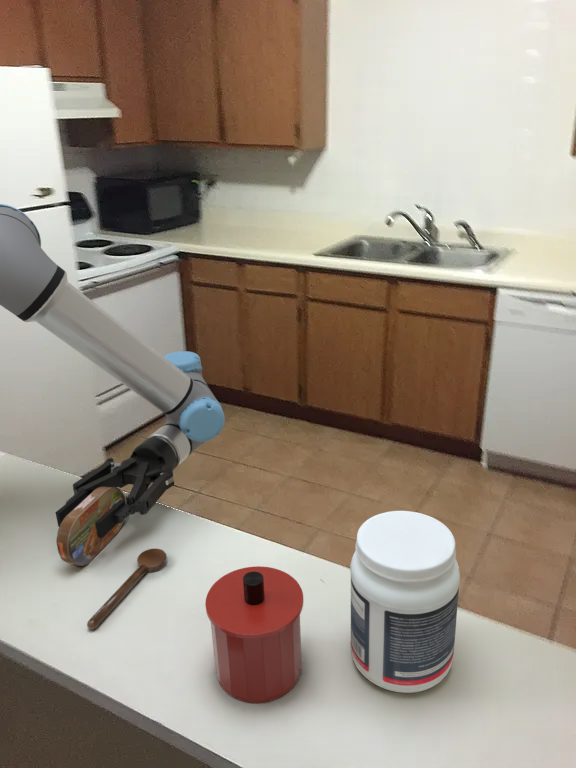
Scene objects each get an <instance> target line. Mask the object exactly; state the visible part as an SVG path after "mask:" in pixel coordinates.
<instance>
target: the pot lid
mask: <svg viewBox="0 0 576 768" xmlns="http://www.w3.org/2000/svg"><path fill="white" fill-rule="evenodd" d="M303 608H304V592H303V589H302V587H301V585H300V584H299V582H298V581H297V580H296V579H295V578H294V577H293V576H292V575H291V574H289V573H287V572H286V571H283V570H282V569H279V568H275V567H270V566H269V567H268V566H261V565H258V566H257V565H256V566H247V567H242V568H239V569H235V570H233V571H230V572H227V573H226V574H224V575H223V576H221V577H219V578H218V580H216V581H215V582H214V583H213V584H212V585H211V587H210V589H209V590H208V592H207V593H206V597H205V612H206V615H207V618H208V620H209V622H210V624H211V623H212V624H213V625H214V626H215V627H216V628H217V629H219V630H220V631H222V632H223V633H225V634H228V635H230V636H233V637H238V638H244V639H257V638H264V637H268V636H272V635H275V634H277V633H279V632H281V631H283V630H285V629H286V628H288V627H289V626H291V625H292V624H293V623H294V622H295V621H296V620H297V618H298V617H299V615H300V616H301V613H302V611H303Z"/></svg>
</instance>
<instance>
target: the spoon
mask: <svg viewBox="0 0 576 768" xmlns="http://www.w3.org/2000/svg"><path fill="white" fill-rule="evenodd" d="M136 561H137V566H138V567H137V568H136V569H135V570H134V571H133V572H132V573H131V574H130V576H129V577H128V578H127V579H126V580H125V581H123V582H122V585H120V587H118V588H117V589H116V590H115V592H114V593H113V594H112V595H111V596H110V597H109V598H108V599H107V600H106V601H105V602H104V604H103V605H101V607H99V609H98V610H97V611H96V612H95V613H94V614H93V615H92V616H91V618H90V619H89V620H88V621H87V623H86V627H87V628H88V629H89V630H92V631H93V630H96V629H97V628H98V626H100V624H101V623H102V622H103V621H104V620H105V619H106V618H107V616H109V614H110V613H111V612H112V611H113V610H114V609H115V608H116V607H117V606H118V604H119V603H121V601H123V599H124V598H125V597H126V596H127V595H128V593H130V591H131V590H132V589H133V588H134V587H135V586H136V584H137V583H139V581H140V580H141V579H142V578H143V577H144V576H145V575H146V573H155V572H158V571H160V570H162V569H163V568H165V567H166V565H167V562H168V557H167V553H166V551H165V550H163V549H161V548H148V549H146V550H144V551H142V552H140V554H138V557H137V560H136Z"/></svg>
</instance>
